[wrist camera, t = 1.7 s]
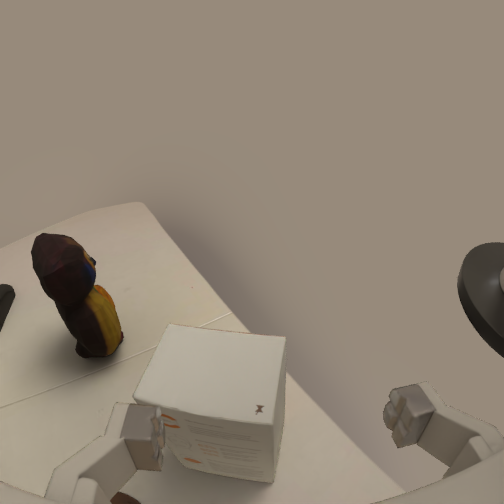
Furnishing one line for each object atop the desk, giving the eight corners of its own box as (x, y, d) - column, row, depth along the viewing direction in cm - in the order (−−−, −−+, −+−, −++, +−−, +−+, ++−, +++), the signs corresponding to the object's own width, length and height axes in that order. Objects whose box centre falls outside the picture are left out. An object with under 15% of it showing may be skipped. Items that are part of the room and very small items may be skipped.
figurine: (144, 352, 34) (100, 241, 26) (96, 384, 30) (33, 278, 22) (108, 310, 40) (70, 212, 32) (67, 336, 36) (18, 239, 28)
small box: (284, 422, 27) (289, 334, 19) (274, 484, 22) (274, 427, 14) (200, 410, 28) (167, 320, 21) (182, 467, 23) (129, 398, 16)
